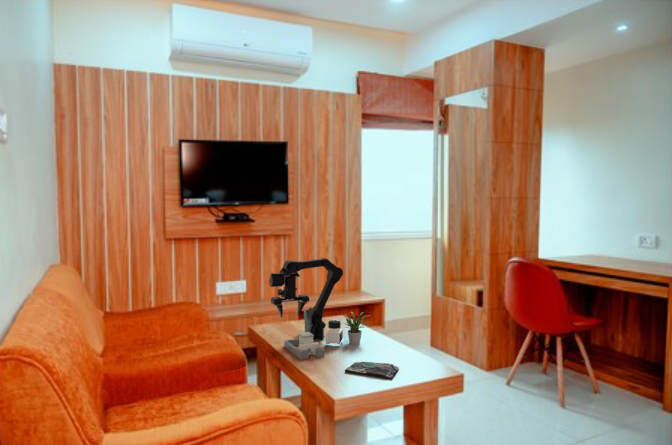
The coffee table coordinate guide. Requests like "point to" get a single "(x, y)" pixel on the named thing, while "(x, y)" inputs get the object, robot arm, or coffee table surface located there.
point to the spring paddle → (309, 347)
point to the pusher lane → (305, 353)
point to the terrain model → (373, 369)
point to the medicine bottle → (334, 332)
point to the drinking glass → (307, 324)
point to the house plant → (354, 329)
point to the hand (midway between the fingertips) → (290, 316)
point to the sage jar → (305, 338)
